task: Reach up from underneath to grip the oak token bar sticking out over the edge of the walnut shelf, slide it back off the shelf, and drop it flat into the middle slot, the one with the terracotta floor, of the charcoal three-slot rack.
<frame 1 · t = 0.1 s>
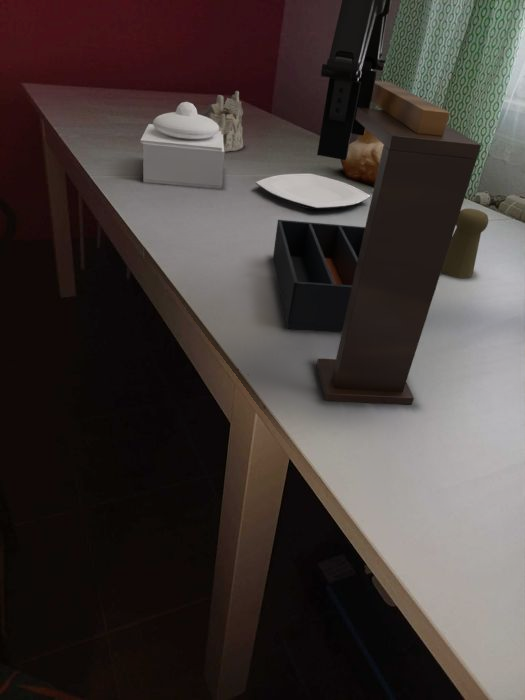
hand: (343, 144, 56), 25 cm above the table, tool pointing down, fingers open, 13 cm apart
cork: (454, 271, 96), on the table
token bar: (398, 114, 56), point 28 cm above the table, touching shelf stand
miniature castle sculpture: (215, 145, 157), on the table
plate: (311, 198, 124), on the table
ceramic vessel: (382, 183, 142), on the table
shelf stand: (354, 362, 67), on the table
butter dish: (183, 175, 128), on the table
slot rack: (328, 292, 83), on the table
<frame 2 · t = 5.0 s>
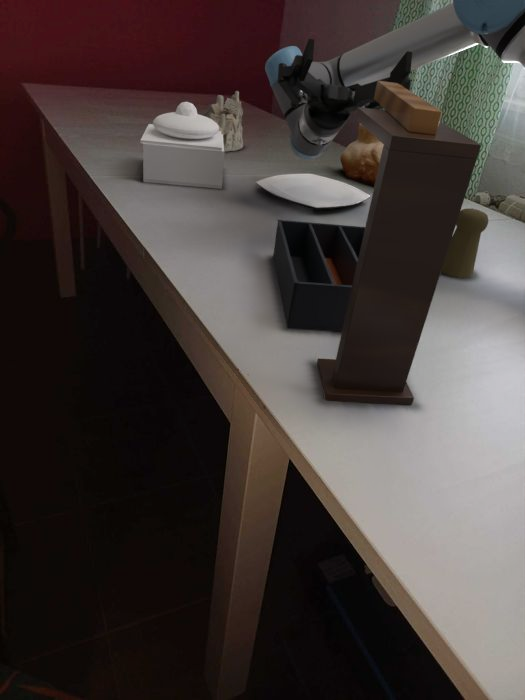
hand: (360, 55, 72), 32 cm above the table, tool pointing upward, fingers open, 13 cm apart
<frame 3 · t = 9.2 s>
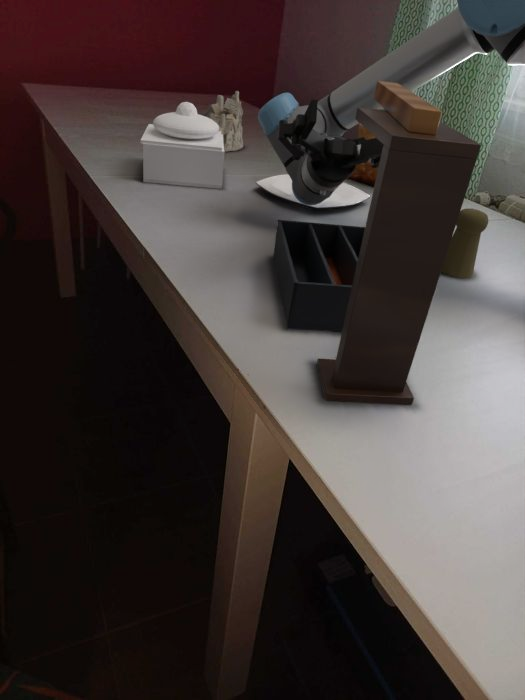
hand: (367, 116, 67), 26 cm above the table, tool pointing upward, fingers open, 13 cm apart
nothing on the table moved.
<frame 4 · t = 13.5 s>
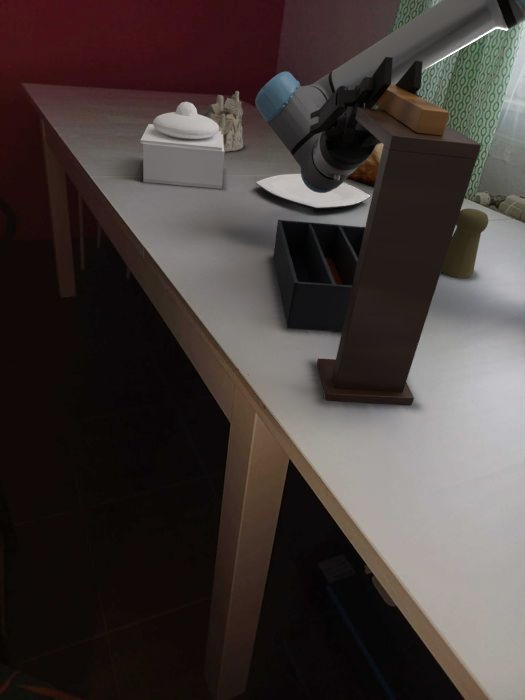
hand: (403, 72, 55), 32 cm above the table, tool pointing upward, fingers closed on token bar, 2 cm apart
token bar: (398, 114, 56), point 28 cm above the table, touching gripper, shelf stand
everything else where it was.
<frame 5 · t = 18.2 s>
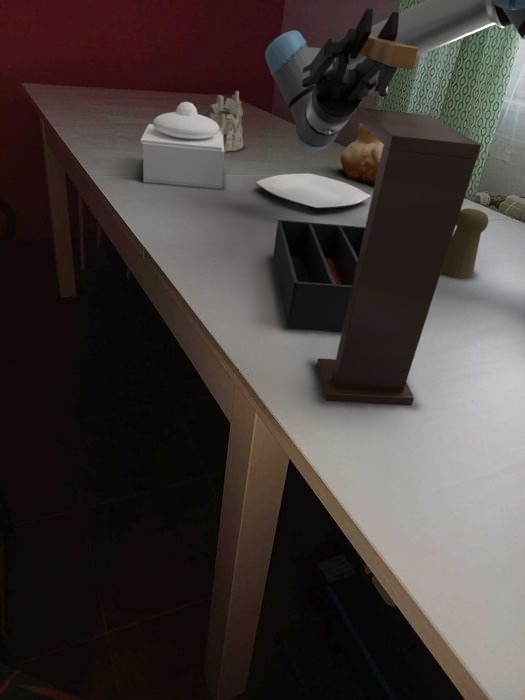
hand: (382, 22, 64), 36 cm above the table, tool pointing upward, fingers closed on token bar, 2 cm apart
token bar: (378, 59, 64), point 32 cm above the table, touching gripper
everything else where it was.
when the fingers open (22 cm above the table, at t = 23.2 s): token bar drops 17 cm, resting on slot rack.
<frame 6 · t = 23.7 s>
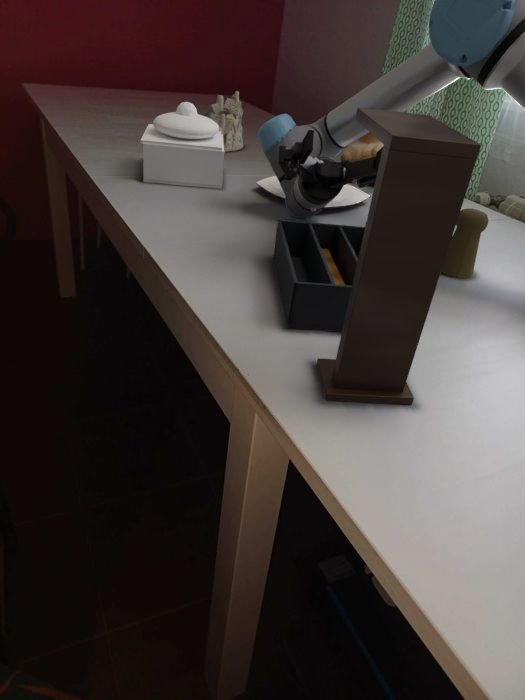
hand: (352, 144, 74), 21 cm above the table, tool pointing upward, fingers open, 11 cm apart
token bar: (330, 285, 83), point 1 cm above the table, touching slot rack
everything else where it was.
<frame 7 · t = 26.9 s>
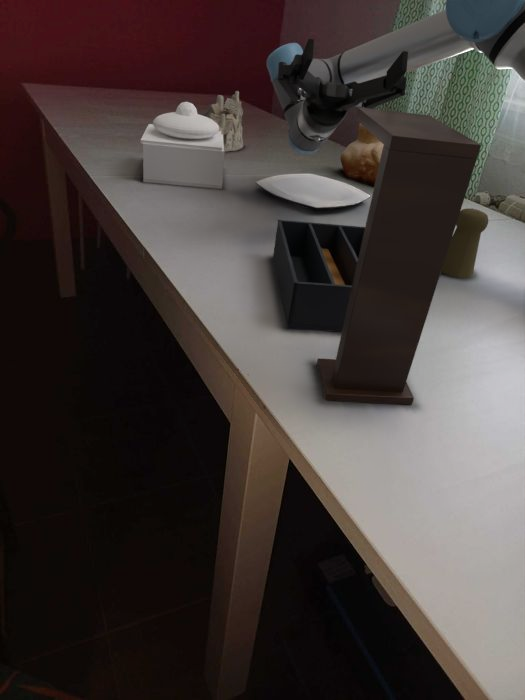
hand: (358, 55, 75), 32 cm above the table, tool pointing upward, fingers open, 13 cm apart
nothing on the table moved.
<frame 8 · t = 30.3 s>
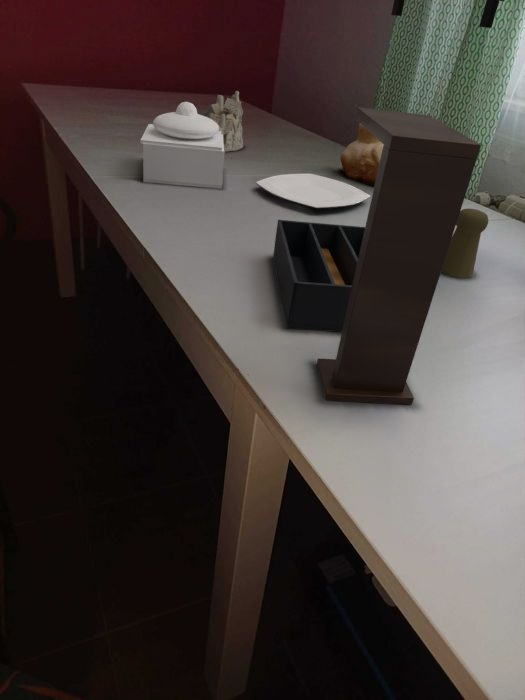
hand: (441, 21, 78), 37 cm above the table, tool pointing down, fingers open, 13 cm apart
nothing on the table moved.
at the end: token bar 0.3 cm from the slot rack (horizontally); token bar point 1.0 cm above the table; the gripper is holding nothing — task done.
